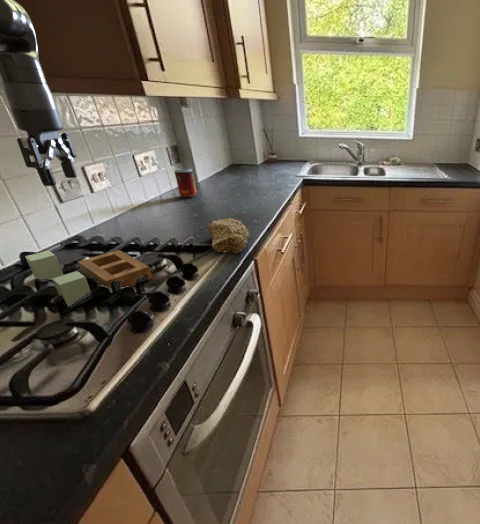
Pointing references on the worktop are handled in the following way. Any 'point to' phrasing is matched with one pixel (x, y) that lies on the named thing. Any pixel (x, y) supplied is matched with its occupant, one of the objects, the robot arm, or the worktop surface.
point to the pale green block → (71, 287)
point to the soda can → (185, 182)
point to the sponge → (228, 235)
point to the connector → (114, 268)
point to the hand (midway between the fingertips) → (61, 181)
